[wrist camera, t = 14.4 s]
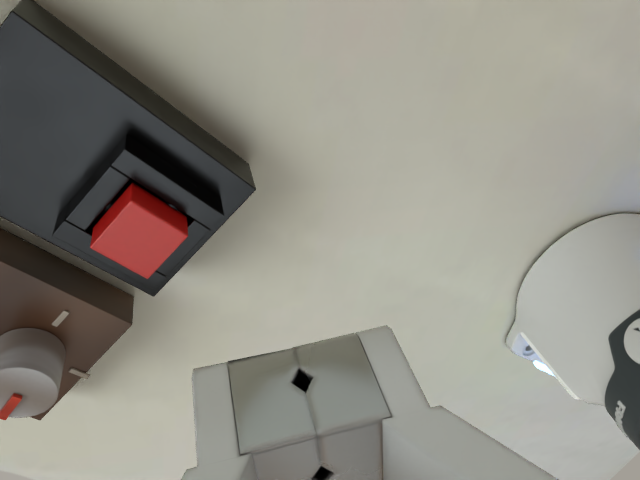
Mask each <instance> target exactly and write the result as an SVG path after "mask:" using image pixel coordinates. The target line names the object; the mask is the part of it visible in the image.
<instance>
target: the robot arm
mask: <svg viewBox="0 0 640 480" xmlns="http://www.w3.org/2000/svg"><path fill="white" fill-rule="evenodd" d="M506 346H507V347H508V348H509V349H510V350H511V351H512V352H513V353H514V354H516V355H518V356H521V357H523V358H526V359H528V360H531V361H533V363H534V365H535V366H536V367H537V368H538V369H540V370H542V371H545V372H547V373H549V374H551V375H553V376H555V377H556V378H557V380H558V381H559V382H560V383H561V384H562V386H563V387H564V388H565V389H566V390H567V392H568V393H569V394H570V395H571V396H572V397H573V398H574V399H576V400H580V399H581V400H583V401H585V402H587V403H589V404H594V405H601V406H605V407H606V410H607V412H608V413H609V414H610V415H611V417H612V418H613V419H614V420H615V422H616V424H617V426H618V427H619V429H620V430H621V431H622V432H623V433H624V435H625V436H626V437H628V438H629V439H630V440H631V441H632V442H633V443H634V444H635V445H636V446H637V447H638V449H640V214H629V213H622V214H613V215H608V216H604V217H601V218H598V219H595V220H592V221H590V222H587V223H585V224H583V225H581V226H579V227H577V228H575V229H574V230H572V231H570V232H569V233H567V234H566V235H564V236H563V237H562V238H560V239H559V240H558V241H556V242H555V243H554V244H553V245H552V246H550V247H549V248H548V249H547V250H546V251H545V252H544V253H543V254H542V255H541V256H540V257H539V259H538V260H537V261H536V262H535V263H534V265H533V266H532V267H531V269H530V270H529V272H528V273H527V275H526V277H525V279H524V281H523V283H522V285H521V287H520V290H519V293H518V297H517V302H516V318H515V322H514V324H513V326H512V328H511V330H510V332H509V334H508V336H507V339H506ZM192 390H193V406H194V421H195V437H196V453H197V467H194V468H191V469H187V470H186V472H185V473H184V475H183V477H182V479H181V480H558V479H557V478H555V477H553V476H552V475H550V474H549V473H547V472H545V471H544V470H542V469H541V468H539V467H538V466H536V465H534V464H533V463H531V462H530V461H528V460H526V459H525V458H523V457H522V456H520V455H518V454H517V453H515V452H514V451H512V450H510V449H509V448H507V447H506V446H504V445H503V444H501V443H499V442H498V441H496V440H495V439H493V438H491V437H490V436H488V435H487V434H485V433H483V432H482V431H480V430H479V429H477V428H475V427H474V426H472V425H471V424H469V423H467V422H466V421H464V420H463V419H461V418H460V417H458V416H456V415H455V414H453V413H452V412H450V411H448V410H447V409H445V408H444V407H442V406H436V407H430V405H429V403H428V401H427V399H426V397H425V395H424V393H423V391H422V389H421V387H420V385H419V383H418V381H417V379H416V377H415V375H414V373H413V371H412V369H411V367H410V365H409V363H408V361H407V359H406V357H405V355H404V353H403V351H402V349H401V347H400V345H399V343H398V341H397V339H396V337H395V335H394V333H393V331H392V329H390V328H389V327H388V326H387V325H386V326H381V327H377V328H373V329H369V330H365V331H360V332H356V333H355V334H354V333H352V334H347V335H343V336H339V337H335V338H331V339H326V340H322V341H318V342H314V343H310V344H305V345H301V346H297V347H293V348H291V349H286V350H281V351H277V352H272V353H267V354H262V355H257V356H252V357H247V358H242V359H237V360H232V361H228V362H225V363H221V364H216V365H211V366H206V367H201V368H196V369H193V374H192Z"/></svg>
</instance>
